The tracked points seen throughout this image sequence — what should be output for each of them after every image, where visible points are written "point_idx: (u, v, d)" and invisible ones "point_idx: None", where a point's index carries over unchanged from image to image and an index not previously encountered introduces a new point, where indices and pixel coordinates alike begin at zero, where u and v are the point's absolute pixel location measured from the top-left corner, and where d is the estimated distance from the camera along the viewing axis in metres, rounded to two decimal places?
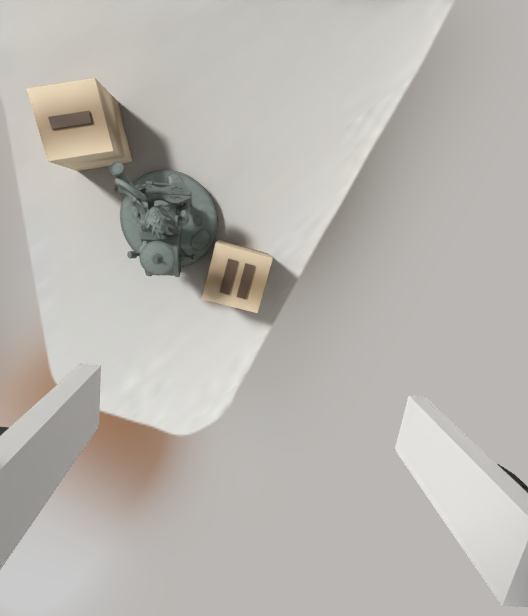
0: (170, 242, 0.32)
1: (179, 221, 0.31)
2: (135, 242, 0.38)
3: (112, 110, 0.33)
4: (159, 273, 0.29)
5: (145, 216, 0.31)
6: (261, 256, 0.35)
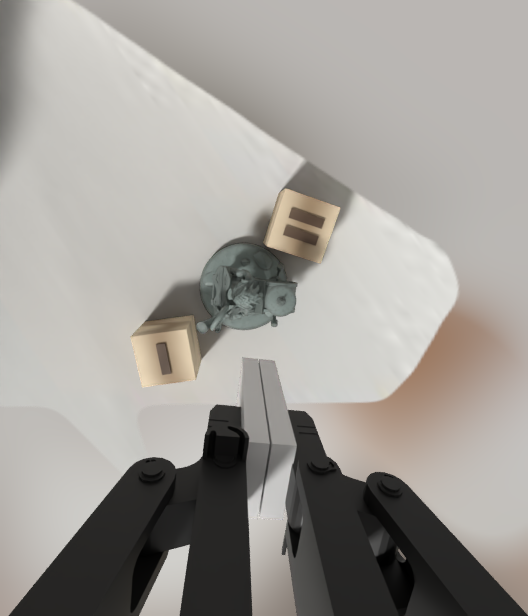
0: (265, 288, 0.34)
1: (247, 278, 0.34)
2: (262, 319, 0.42)
3: (153, 326, 0.40)
4: (294, 300, 0.31)
5: (242, 308, 0.34)
6: (282, 200, 0.34)
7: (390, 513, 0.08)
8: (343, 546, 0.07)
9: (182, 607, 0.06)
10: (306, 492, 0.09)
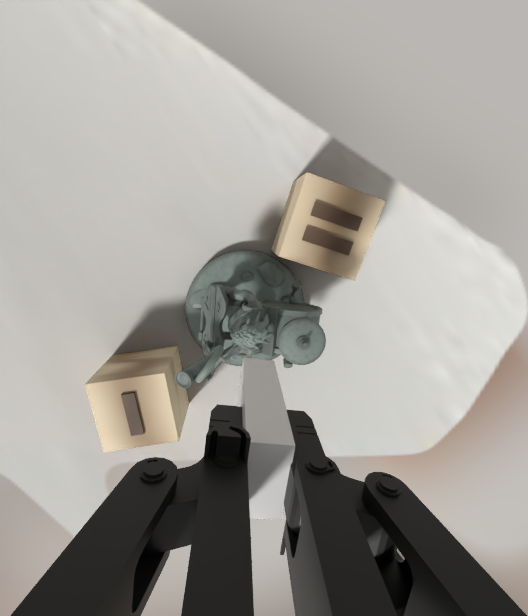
0: (277, 318, 0.23)
1: (250, 304, 0.23)
2: None
3: (121, 364, 0.29)
4: (323, 340, 0.21)
5: (243, 347, 0.23)
6: (302, 190, 0.24)
7: (389, 513, 0.08)
8: (341, 546, 0.07)
9: (184, 607, 0.06)
10: (304, 492, 0.09)
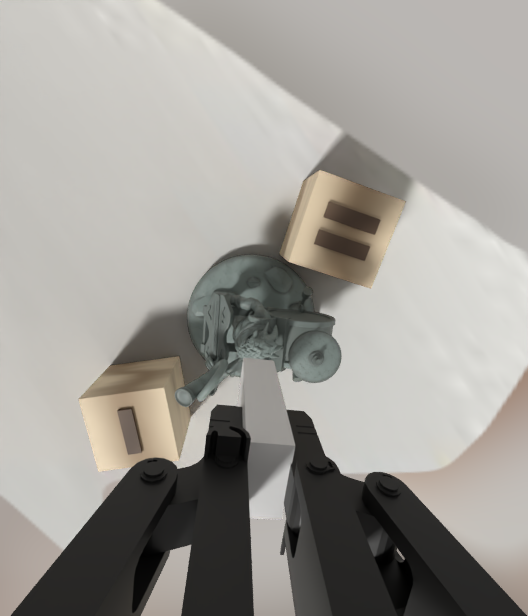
0: (287, 329, 0.21)
1: (257, 314, 0.21)
2: None
3: (118, 377, 0.27)
4: (338, 356, 0.19)
5: None
6: (315, 189, 0.22)
7: (389, 513, 0.08)
8: (342, 546, 0.07)
9: (184, 607, 0.06)
10: (305, 492, 0.09)
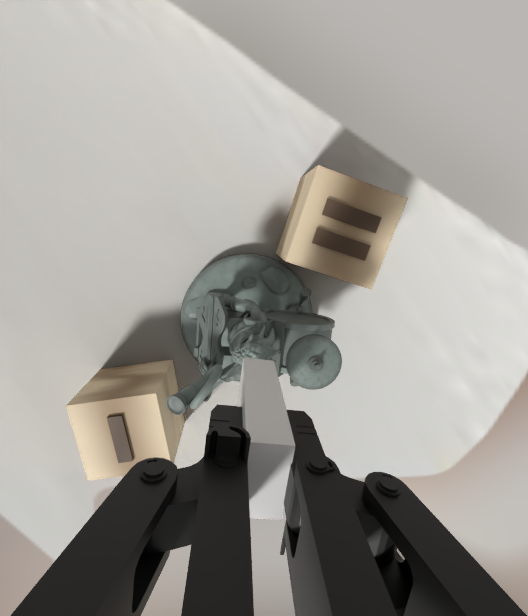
0: (284, 332, 0.20)
1: (253, 317, 0.20)
2: None
3: (108, 381, 0.26)
4: (339, 361, 0.18)
5: None
6: (313, 185, 0.21)
7: (389, 513, 0.08)
8: (341, 546, 0.07)
9: (184, 607, 0.06)
10: (304, 492, 0.09)
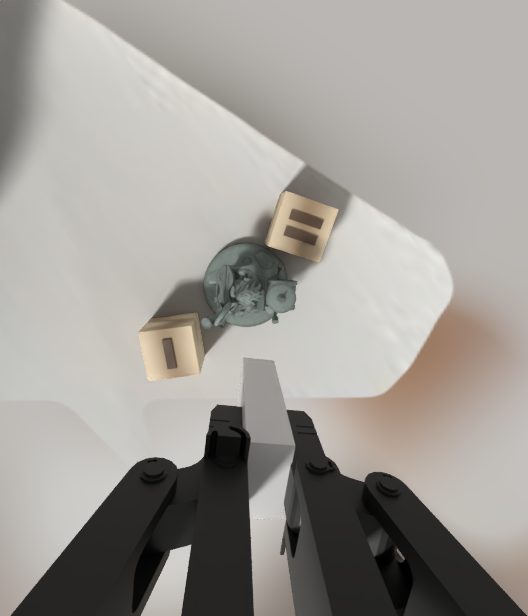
0: (266, 286, 0.36)
1: (249, 277, 0.36)
2: (263, 316, 0.44)
3: (159, 322, 0.41)
4: (294, 297, 0.33)
5: (244, 305, 0.36)
6: (283, 202, 0.36)
7: (389, 513, 0.08)
8: (342, 546, 0.07)
9: (184, 607, 0.06)
10: (305, 492, 0.09)
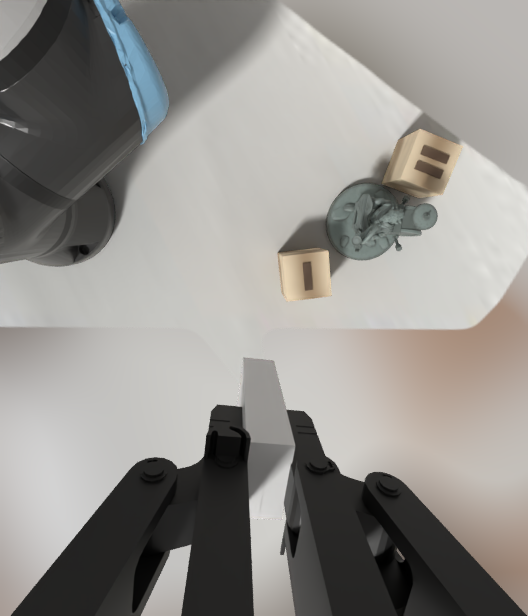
0: (403, 211, 0.41)
1: (388, 203, 0.41)
2: (377, 250, 0.49)
3: (292, 252, 0.47)
4: (436, 216, 0.39)
5: (384, 227, 0.41)
6: (416, 139, 0.42)
7: (389, 513, 0.08)
8: (342, 546, 0.07)
9: (184, 607, 0.06)
10: (305, 492, 0.09)
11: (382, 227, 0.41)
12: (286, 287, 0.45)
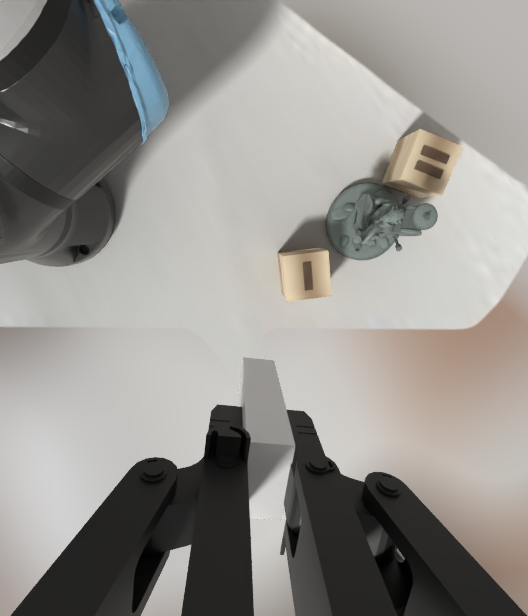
0: (403, 211, 0.41)
1: (388, 203, 0.41)
2: (377, 250, 0.49)
3: (292, 252, 0.47)
4: (436, 216, 0.39)
5: (384, 227, 0.41)
6: (416, 139, 0.42)
7: (389, 513, 0.08)
8: (342, 546, 0.07)
9: (184, 607, 0.06)
10: (305, 492, 0.09)
11: (382, 227, 0.41)
12: (286, 287, 0.45)
